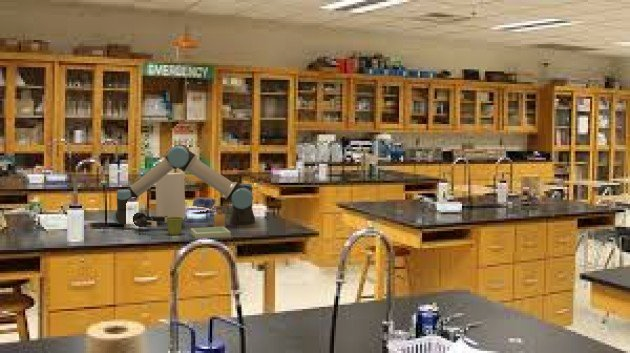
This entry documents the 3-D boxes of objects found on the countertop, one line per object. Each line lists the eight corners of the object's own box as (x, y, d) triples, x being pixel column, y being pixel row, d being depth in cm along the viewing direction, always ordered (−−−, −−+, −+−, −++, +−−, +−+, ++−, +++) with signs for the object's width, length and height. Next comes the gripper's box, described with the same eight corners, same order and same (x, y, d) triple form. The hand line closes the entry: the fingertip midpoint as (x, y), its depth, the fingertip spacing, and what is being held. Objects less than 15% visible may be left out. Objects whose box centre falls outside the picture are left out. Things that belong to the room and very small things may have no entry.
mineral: (196, 214, 438) (196, 198, 437) (191, 212, 446) (191, 197, 445) (218, 213, 445) (217, 197, 444) (212, 211, 453) (212, 196, 452)
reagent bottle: (223, 229, 384) (223, 205, 383) (226, 230, 379) (226, 207, 377) (213, 229, 382) (213, 206, 381) (215, 231, 377) (215, 207, 375)
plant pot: (177, 231, 375) (177, 216, 374) (187, 234, 368) (187, 218, 368) (162, 234, 369) (162, 218, 368) (172, 236, 362) (171, 220, 361)
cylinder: (182, 221, 412) (181, 174, 410) (153, 220, 412) (152, 174, 410) (187, 216, 429) (187, 171, 427) (160, 216, 430) (159, 171, 427)
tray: (223, 232, 375) (223, 226, 375) (230, 237, 358) (230, 232, 358) (190, 233, 369) (190, 228, 369) (196, 239, 352) (196, 233, 352)
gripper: (153, 222, 393) (181, 226, 382) (119, 229, 371) (148, 232, 361) (152, 209, 392) (181, 212, 381) (119, 215, 371) (148, 218, 360)
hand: (165, 222), depth 371 cm, fingers open, 13 cm apart
